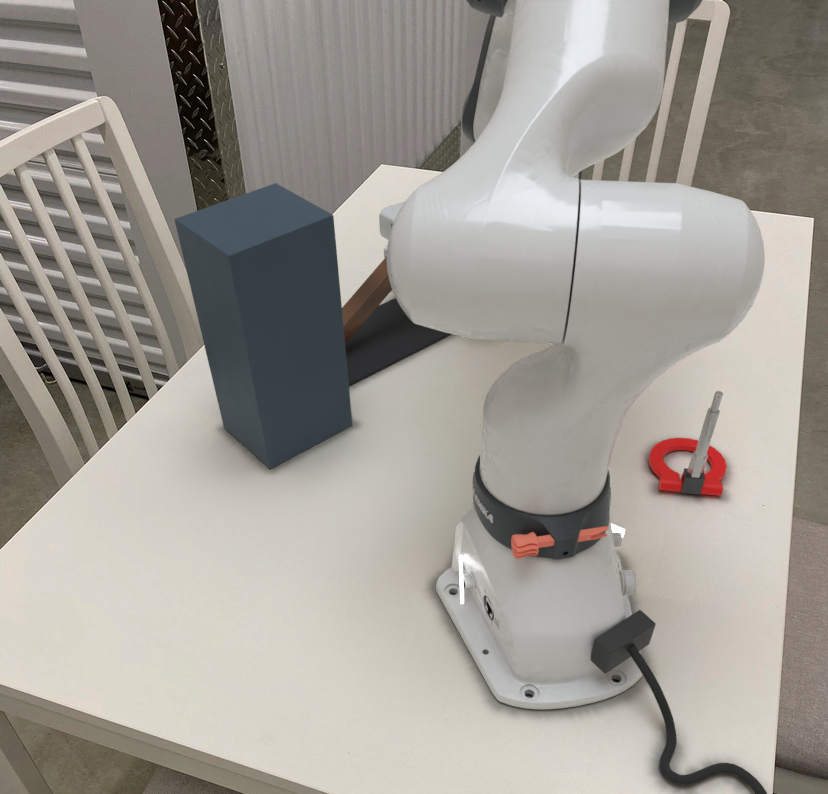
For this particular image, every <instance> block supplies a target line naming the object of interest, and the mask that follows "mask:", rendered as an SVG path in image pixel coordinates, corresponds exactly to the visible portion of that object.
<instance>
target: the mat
mask: <svg viewBox="0 0 828 794" xmlns="http://www.w3.org/2000/svg"><path fill="white" fill-rule="evenodd" d="M451 335H452V334H449V333H445V332H442V331H438V330H435V329H431V328H428V327H424V326H421V325H417V324H414V323H413V322H412V321H411V320H410V319H409V318H408V316H407V315H406V314H405V312H404V311H403V310H402V308H401V307H400V305H399V303H398V301H397V300H396V297H394V298H392V299H390V300H388V301H386V302H384V303H380V305H379V306H378V307H377V308H376V309H375V310H374V311H373V313H372V314H371V315H370V316H369V317H368V318H367V320H366V321H365V322H364V323H363V324H362V325H361V327H360V328H359V329H358V330H357V331H356V332H355V334H354V335H353V336H352V337H351V338H350V339H349V341H348V342H347V343H346V344H345V348H346V359H347V370H348V381H349V387H351V386H353V385H354V384H357V383H359V382H360V381H363V380H364V379H366V378H368V377H371V376H372V375H375V374H376V373H378V372H381V371H383V370H384V369H386V368H389V367H390V366H392V365H394V364H396V363H398V362H400V361H403V360H405V359H406V358H408V357H410V356H412V355H414V354H416V353H418V352H419V351H421V350H423V349H425V348H427V347H429V346H431V345H433V344H436V343H437V342H439V341H442V340H443V339H445V338H447V337H449V336H451Z"/></svg>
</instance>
